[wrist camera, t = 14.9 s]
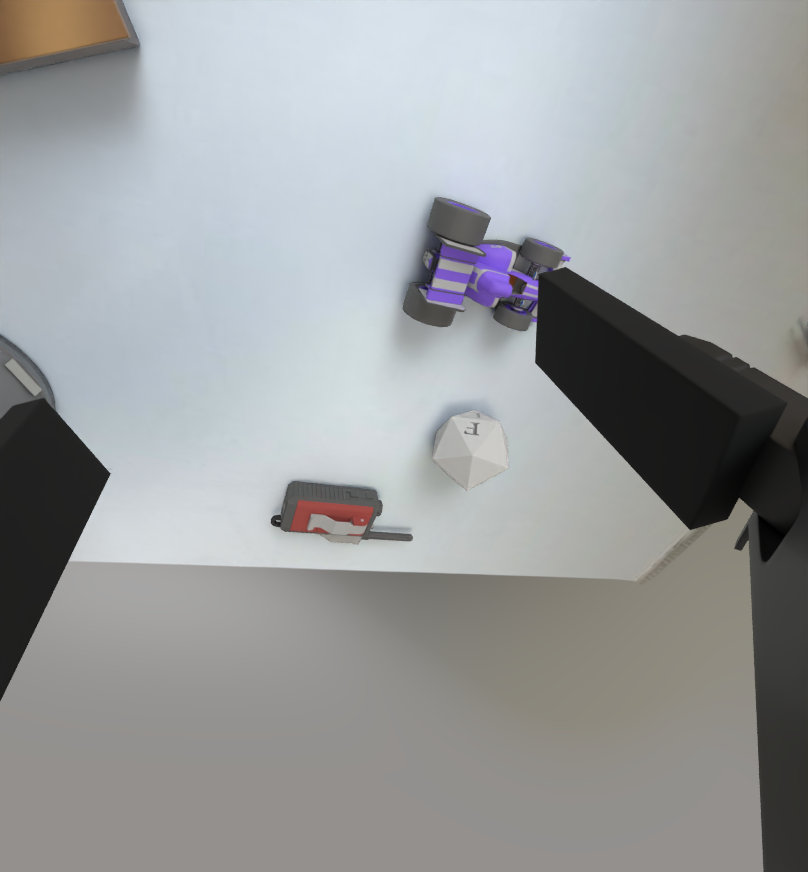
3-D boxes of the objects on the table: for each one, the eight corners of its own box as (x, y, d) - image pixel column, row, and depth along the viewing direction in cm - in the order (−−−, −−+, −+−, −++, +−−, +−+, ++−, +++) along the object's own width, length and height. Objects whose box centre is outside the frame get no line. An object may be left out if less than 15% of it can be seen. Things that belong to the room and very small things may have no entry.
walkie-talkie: (267, 525, 55) (408, 535, 63) (266, 553, 52) (414, 560, 59) (279, 477, 51) (429, 493, 58) (279, 504, 47) (438, 517, 55)
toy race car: (528, 331, 46) (557, 359, 41) (397, 301, 41) (412, 330, 36) (573, 239, 40) (612, 258, 35) (429, 191, 35) (451, 207, 30)
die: (508, 411, 53) (519, 417, 43) (499, 481, 54) (508, 502, 44) (440, 405, 54) (436, 408, 44) (433, 473, 55) (427, 492, 45)
